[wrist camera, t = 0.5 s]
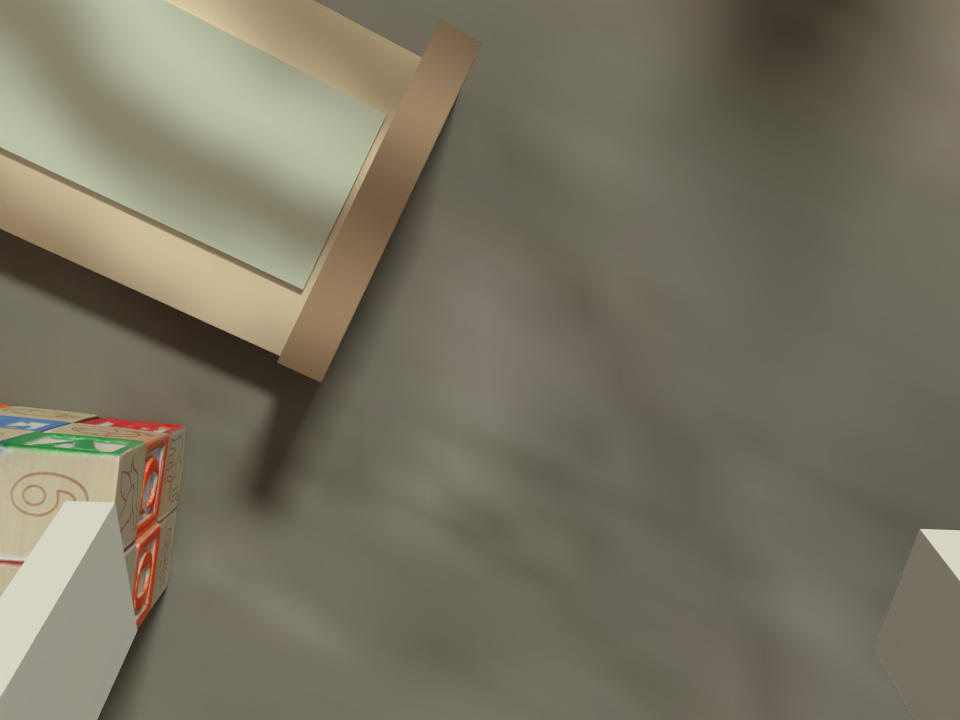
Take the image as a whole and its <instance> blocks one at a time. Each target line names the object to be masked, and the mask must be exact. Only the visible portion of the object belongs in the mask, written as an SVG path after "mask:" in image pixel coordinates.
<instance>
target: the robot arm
mask: <svg viewBox="0 0 960 720" xmlns="http://www.w3.org/2000/svg"><path fill="white" fill-rule="evenodd" d="M136 633H137V625H136V619H135V613H134V608H133V602H132V596H131V590H130V585H129V579H128V573H127V568H126V562H125V556H124V550H123V545H122V539H121V533H120V528H119V522H118V516H117V510H116V505H115V502H84V501H65V503H64V504H63V505H62V507H61V508H60V510H59V511H58V513H57V514H56V516H55V517H54V519H53V520H52V522H51V523H50V525H49V526H48V528H47V529H46V531H45V532H44V534H43V535H42V536H41V538H40V539H39V541H38V542H37V544H36V545H35V547H34V548H33V550H32V551H31V553H30V554H29V556H28V557H27V559H26V560H25V562H24V563H23V565H22V566H21V568H20V569H19V570H18V572H17V573H16V575H15V576H14V578H13V579H12V581H11V582H10V584H9V585H8V587H7V588H6V590H5V591H4V593H3V594H2V596H1V597H0V720H97V719H98V717H99V715H100V713H101V710H102V708H103V706H104V704H105V702H106V699H107V697H108V695H109V693H110V690H111V688H112V686H113V684H114V682H115V679H116V677H117V675H118V673H119V670H120V668H121V666H122V664H123V662H124V659H125V657H126V655H127V653H128V651H129V648H130V646H131V644H132V642H133V639H134V637H135V635H136ZM874 651H875V652H876V654H877V656H878V658H879V659H880V661H881V663H882V665H883V666H884V668H885V670H886V672H887V673H888V675H889V677H890V678H891V680H892V682H893V684H894V685H895V687H896V689H897V691H898V692H899V694H900V696H901V698H902V699H903V701H904V703H905V704H906V706H907V708H908V710H909V711H910V713H911V715H912V717H913V718H914V720H960V530H933V529H920V530H919V533H918V535H917V538H916V541H915V543H914V546H913V548H912V551H911V553H910V556H909V559H908V561H907V564H906V566H905V569H904V572H903V574H902V577H901V579H900V582H899V585H898V587H897V590H896V592H895V595H894V598H893V600H892V603H891V605H890V608H889V611H888V613H887V616H886V618H885V621H884V623H883V626H882V629H881V631H880V634H879V636H878V639H877V642H876V644H875V647H874Z"/></svg>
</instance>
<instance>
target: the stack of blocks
mask: <svg viewBox="0 0 960 720" xmlns="http://www.w3.org/2000/svg"><path fill="white" fill-rule="evenodd" d="M185 434H186V429H185V426H183V425H173V424H161V423H151V422H141V421H129V420H121V419H110V418H102V419H101V418H99V417H98V416H97V415H94V414H85V413H76V412H68V411H58V410H49V409H39V408H30V407H20V406H9V405H4V404H0V597H1V596H2V594H3V593H4V591H5V590H6V588H7V587H8V585H9V584H10V582H11V581H12V579H13V578H14V576H15V575H16V573H17V572H18V570H19V569H20V568H21V566H22V565H23V563H24V562H25V560H26V559H27V557H28V556H29V554H30V553H31V551H32V550H33V548H34V547H35V545H36V544H37V542H38V541H39V539H40V538H41V536H42V535H43V534H44V532H45V531H46V529H47V528H48V526H49V525H50V523H51V522H52V520H53V519H54V517H55V516H56V514H57V513H58V511H59V510H60V508H61V507H62V505H63V504H64V503H65V501H84V502H115V505H116V510H117V516H118V522H119V528H120V533H121V539H122V545H123V550H124V556H125V562H126V568H127V573H128V579H129V585H130V590H131V596H132V602H133V608H134V613H135V619H136V625H137V629H138V627H139V626H140V625H141V623H142V622H143V621H144V619H145V618H146V616H147V615H148V613H149V611H150V609H152V607H153V606H154V604H155V603H156V601H157V600H158V598H159V597H160V595H161V594H162V593H163V591H164V590H165V588H166V587H167V585H168V580H169V571H170V562H171V554H172V546H173V537H174V529H175V521H176V513H177V504H178V499H179V492H180V485H181V478H182V469H183V460H184V450H185Z"/></svg>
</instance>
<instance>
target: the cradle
mask: <svg viewBox="0 0 960 720" xmlns="http://www.w3.org/2000/svg"><path fill="white" fill-rule="evenodd" d="M481 44H482V43H481V42H480V41H478V40H476V39H474V38H472V37H470V36H468V35H467V34H465V33H463V32H461V31H459V30H457V29H455V28H454V27H452V26H450V25H448V24H446V23H444V22H442V21H441V20H440V21H439V23H438V25H437V27H436V29H435V32H434V34H433V36H432V38H431V40H430V42H429V44H428V46H427V48H426V50H425V53H424V55H423V57H422V58H421V57H419V56H417V55H415V54H414V53H412V52H410V51H408V50H406V49H404V48H402V47H400V46H398V45H397V44H395V43H393V42H391V41H389V40H387V39H385V38H383V37H381V36H380V35H378V34H376V33H374V32H372V31H370V30H368V29H366V28H364V27H363V26H361V25H359V24H357V23H355V22H353V21H351V20H349V19H347V18H346V17H344V16H342V15H340V14H338V13H336V12H334V11H332V10H330V9H329V8H327V7H325V6H323V5H321V4H319V3H317V2H315V1H313V0H0V229H2V230H4V231H6V232H9V233H11V234H13V235H15V236H17V237H20V238H22V239H24V240H26V241H28V242H31V243H33V244H35V245H37V246H39V247H42V248H44V249H46V250H48V251H50V252H53V253H55V254H57V255H59V256H61V257H63V258H66V259H68V260H70V261H72V262H74V263H77V264H79V265H81V266H83V267H85V268H88V269H90V270H92V271H94V272H96V273H99V274H101V275H103V276H105V277H107V278H110V279H112V280H114V281H116V282H118V283H121V284H123V285H125V286H127V287H129V288H132V289H134V290H136V291H138V292H140V293H143V294H145V295H147V296H149V297H151V298H154V299H156V300H158V301H160V302H162V303H165V304H167V305H169V306H171V307H173V308H175V309H178V310H180V311H182V312H184V313H186V314H189V315H191V316H193V317H195V318H197V319H200V320H202V321H204V322H206V323H208V324H211V325H213V326H215V327H217V328H219V329H222V330H224V331H226V332H228V333H230V334H233V335H235V336H237V337H239V338H241V339H244V340H246V341H248V342H250V343H252V344H255V345H257V346H259V347H261V348H263V349H266V350H268V351H270V352H272V353H274V354H276V355H279V356H280V357H279V359H278V361H277V363H279V364H281V365H283V366H286V367H288V368H290V369H292V370H294V371H297V372H299V373H301V374H303V375H305V376H308V377H310V378H312V379H314V380H317V381H319V382H322V380H323V378H324V377H325V375H326V373H327V371H328V369H329V367H330V364H331V362H332V360H333V358H334V356H335V354H336V352H337V350H338V348H339V345H340V343H341V341H342V339H343V337H344V335H345V333H346V331H347V329H348V326H349V324H350V322H351V320H352V318H353V316H354V314H355V312H356V310H357V307H358V305H359V303H360V301H361V299H362V297H363V295H364V293H365V291H366V288H367V286H368V284H369V282H370V280H371V278H372V276H373V274H374V272H375V269H376V267H377V265H378V263H379V261H380V259H381V257H382V255H383V253H384V250H385V248H386V246H387V244H388V242H389V240H390V238H391V236H392V234H393V231H394V229H395V227H396V225H397V223H398V221H399V219H400V217H401V215H402V212H403V210H404V208H405V206H406V204H407V202H408V200H409V198H410V196H411V193H412V191H413V189H414V187H415V185H416V183H417V181H418V179H419V177H420V174H421V172H422V170H423V168H424V166H425V164H426V162H427V160H428V158H429V155H430V153H431V151H432V149H433V147H434V145H435V143H436V141H437V139H438V136H439V134H440V132H441V130H442V128H443V126H444V124H445V122H446V120H447V118H448V115H449V113H450V111H451V109H452V107H453V105H454V103H455V101H456V99H457V96H458V94H459V92H460V90H461V88H462V86H463V83H464V81H465V79H466V77H467V75H468V73H469V70H470V68H471V66H472V64H473V62H474V59H475V57H476V55H477V53H478V51H479V49H480V46H481Z"/></svg>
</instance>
